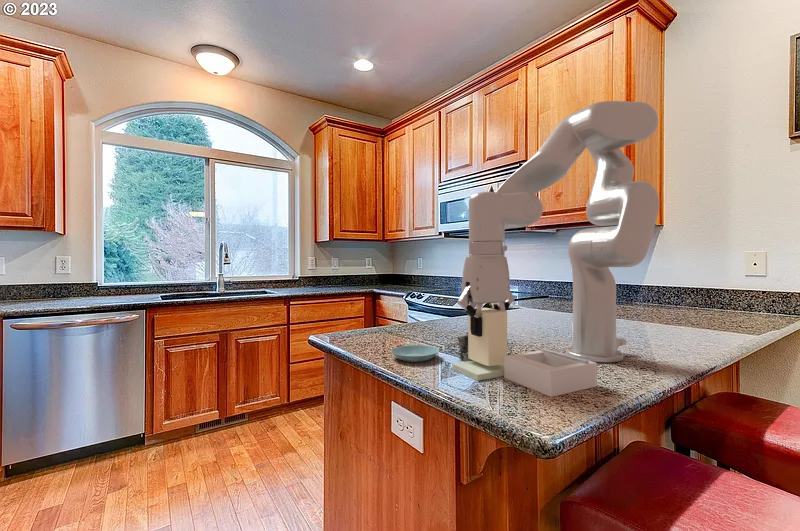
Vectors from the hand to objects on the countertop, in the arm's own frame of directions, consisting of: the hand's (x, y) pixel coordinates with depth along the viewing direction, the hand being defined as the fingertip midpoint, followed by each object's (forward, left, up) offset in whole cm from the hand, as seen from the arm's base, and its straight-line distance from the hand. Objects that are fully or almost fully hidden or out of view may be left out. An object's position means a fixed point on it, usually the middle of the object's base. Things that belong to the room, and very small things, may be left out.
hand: (487, 333), depth 82 cm
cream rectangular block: (0, 0, -6) cm, 6 cm away
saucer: (+9, -17, -9) cm, 21 cm away
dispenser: (-6, +11, -8) cm, 15 cm away
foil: (-6, -9, -9) cm, 14 cm away
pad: (0, 0, -8) cm, 8 cm away
